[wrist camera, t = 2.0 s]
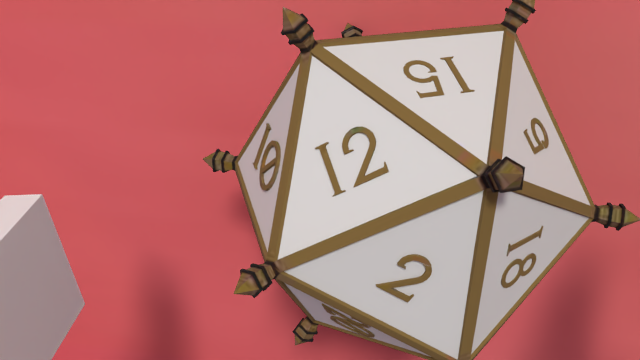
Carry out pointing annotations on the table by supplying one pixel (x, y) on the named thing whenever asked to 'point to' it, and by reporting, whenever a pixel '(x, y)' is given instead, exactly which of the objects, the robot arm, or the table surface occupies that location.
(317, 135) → the game die
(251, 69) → the table surface
